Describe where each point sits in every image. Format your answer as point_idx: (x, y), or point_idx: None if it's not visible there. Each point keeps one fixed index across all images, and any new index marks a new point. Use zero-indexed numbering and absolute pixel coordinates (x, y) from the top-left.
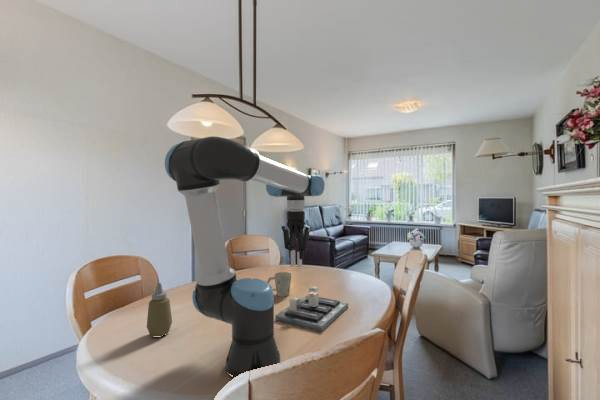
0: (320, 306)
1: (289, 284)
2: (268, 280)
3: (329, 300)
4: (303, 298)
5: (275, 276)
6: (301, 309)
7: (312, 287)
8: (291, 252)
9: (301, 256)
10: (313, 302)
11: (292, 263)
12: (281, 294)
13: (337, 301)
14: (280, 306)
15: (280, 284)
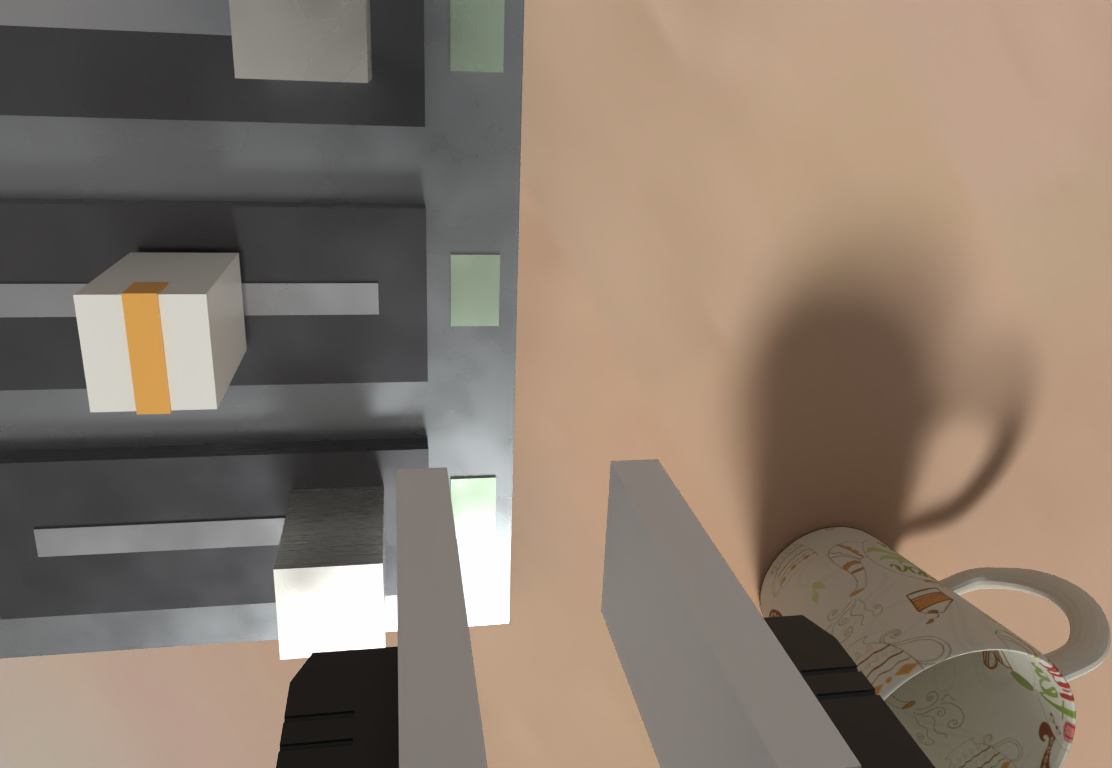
0: None
1: None
2: (1092, 619)
3: (126, 568)
4: (500, 520)
5: (1026, 645)
6: (273, 118)
7: (344, 596)
8: (785, 726)
9: (310, 725)
10: (144, 265)
11: (630, 514)
12: (822, 540)
13: (13, 588)
14: (683, 279)
15: (890, 593)
